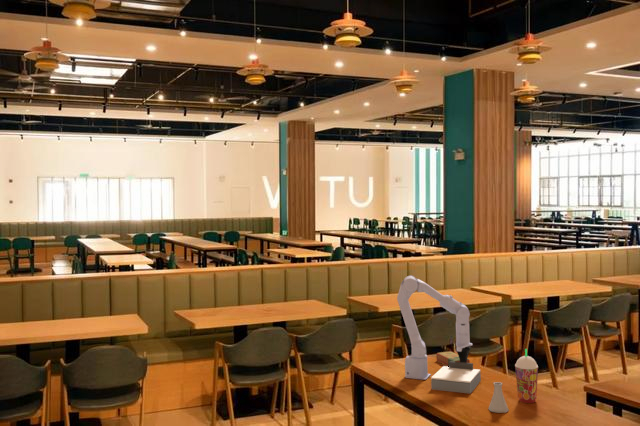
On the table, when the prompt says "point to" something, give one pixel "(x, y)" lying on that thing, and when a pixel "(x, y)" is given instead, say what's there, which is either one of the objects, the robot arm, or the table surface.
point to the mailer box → (456, 385)
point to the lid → (457, 372)
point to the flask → (498, 400)
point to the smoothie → (526, 378)
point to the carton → (448, 358)
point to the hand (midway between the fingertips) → (463, 364)
